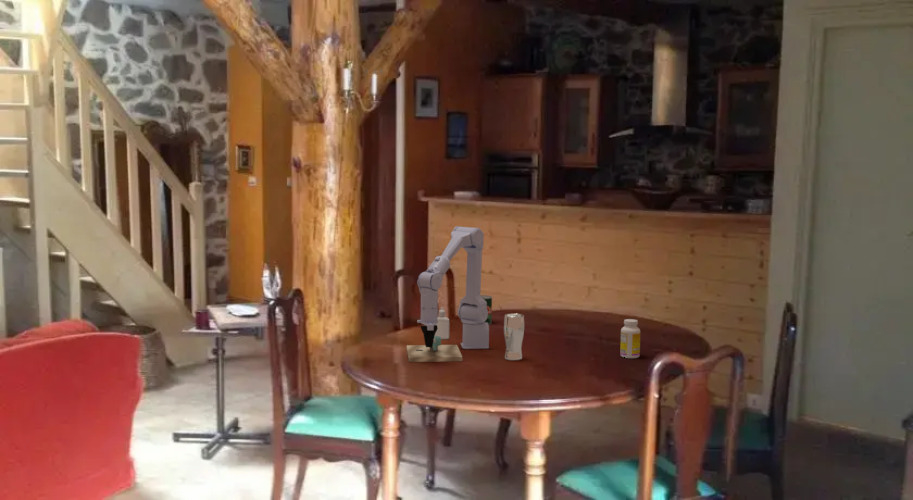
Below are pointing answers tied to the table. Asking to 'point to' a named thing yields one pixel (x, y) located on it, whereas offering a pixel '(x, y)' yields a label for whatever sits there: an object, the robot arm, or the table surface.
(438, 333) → the eye dropper bottle
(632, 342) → the supplement bottle
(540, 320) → the table surface
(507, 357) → the beer glass
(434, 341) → the knob
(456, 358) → the post base
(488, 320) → the canned tomato
